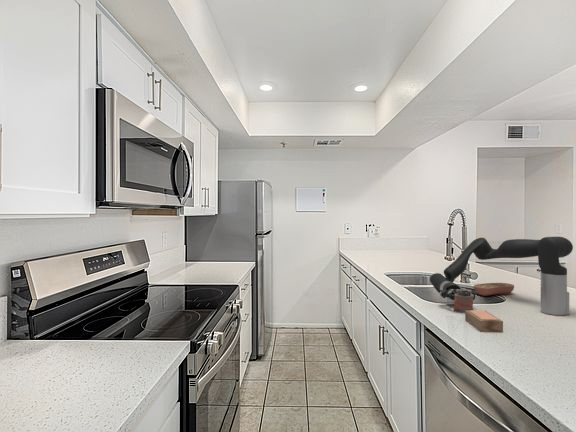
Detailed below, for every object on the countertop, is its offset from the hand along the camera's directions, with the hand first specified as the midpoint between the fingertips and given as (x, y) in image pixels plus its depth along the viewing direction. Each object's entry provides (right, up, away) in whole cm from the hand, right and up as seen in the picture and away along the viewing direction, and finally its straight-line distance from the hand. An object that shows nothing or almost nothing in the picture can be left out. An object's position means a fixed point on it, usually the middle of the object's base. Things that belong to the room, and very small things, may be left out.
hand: (463, 298), depth 158 cm
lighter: (0, -6, +1) cm, 6 cm away
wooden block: (-2, -6, -19) cm, 20 cm away
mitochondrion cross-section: (+32, -6, +32) cm, 45 cm away
